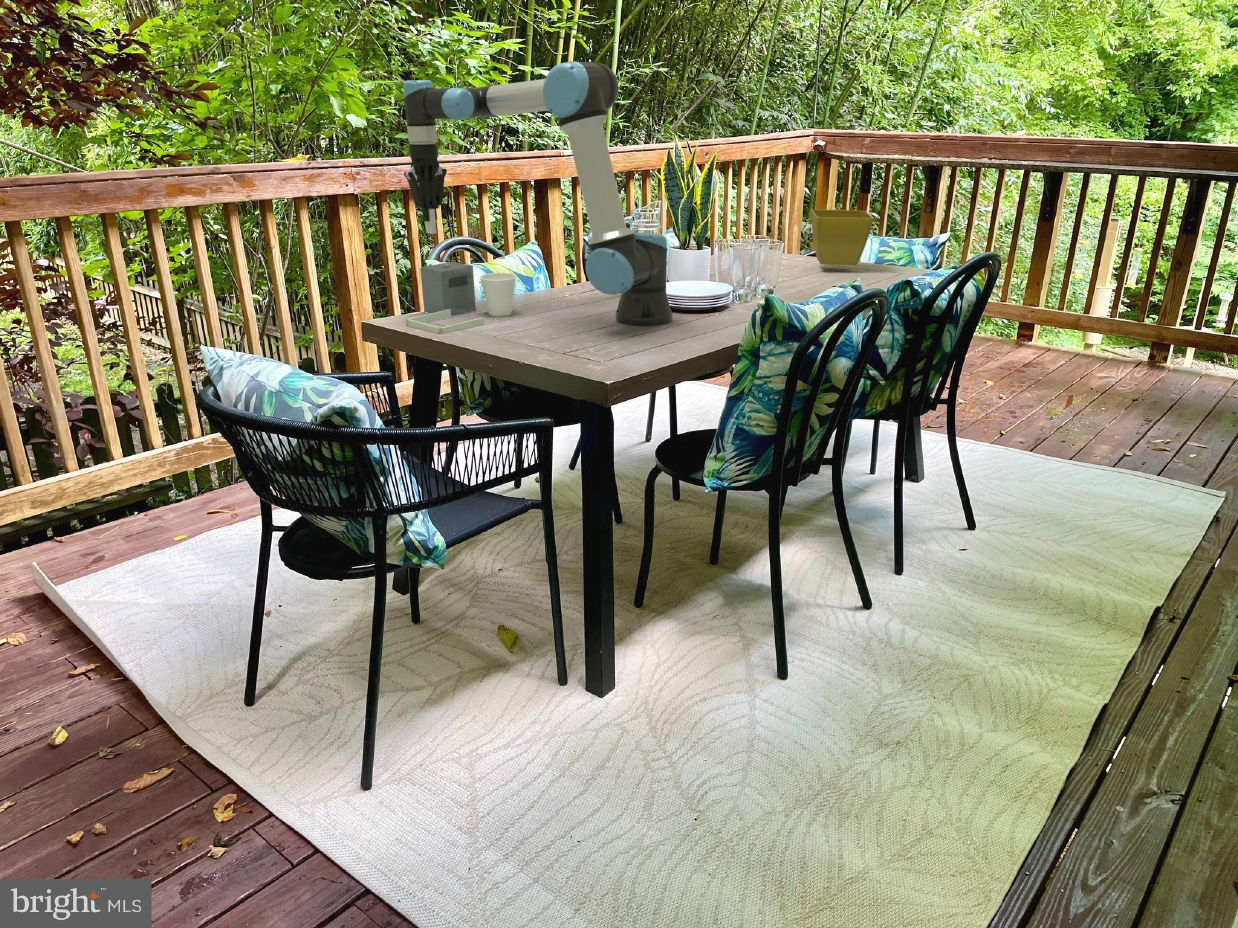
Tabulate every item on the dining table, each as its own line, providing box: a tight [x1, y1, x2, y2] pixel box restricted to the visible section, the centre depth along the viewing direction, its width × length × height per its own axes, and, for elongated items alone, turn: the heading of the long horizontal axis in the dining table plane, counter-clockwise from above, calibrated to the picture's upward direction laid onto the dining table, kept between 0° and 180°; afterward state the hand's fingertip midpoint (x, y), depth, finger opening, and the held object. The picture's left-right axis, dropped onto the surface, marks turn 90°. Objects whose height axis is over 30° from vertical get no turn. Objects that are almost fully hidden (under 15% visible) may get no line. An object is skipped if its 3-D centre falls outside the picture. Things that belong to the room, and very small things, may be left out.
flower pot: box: [810, 209, 874, 266], centre depth 312 cm, size 19×19×17 cm
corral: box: [405, 309, 485, 335], centre depth 233 cm, size 14×14×3 cm
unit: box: [419, 261, 477, 316], centre depth 247 cm, size 10×11×14 cm
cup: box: [479, 272, 517, 317], centre depth 244 cm, size 10×10×11 cm
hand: (431, 233), depth 247 cm, fingers closed
